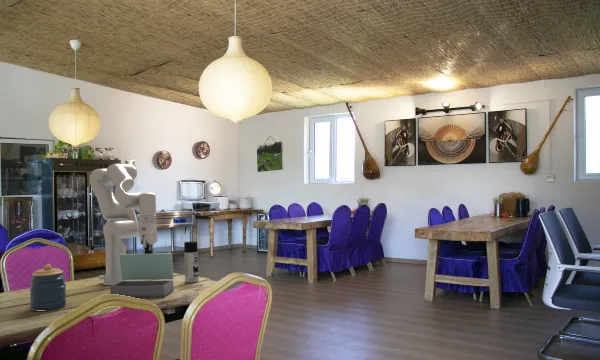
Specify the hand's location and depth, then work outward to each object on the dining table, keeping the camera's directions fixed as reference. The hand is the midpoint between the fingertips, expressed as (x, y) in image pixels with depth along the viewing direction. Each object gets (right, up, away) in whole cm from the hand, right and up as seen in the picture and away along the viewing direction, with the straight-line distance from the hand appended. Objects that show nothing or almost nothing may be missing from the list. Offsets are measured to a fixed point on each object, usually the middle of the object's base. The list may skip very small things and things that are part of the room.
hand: (148, 259), depth 216 cm
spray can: (+15, -15, +20) cm, 29 cm away
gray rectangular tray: (0, -15, -7) cm, 16 cm away
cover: (0, -3, -2) cm, 4 cm away
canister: (-32, -15, -27) cm, 44 cm away
